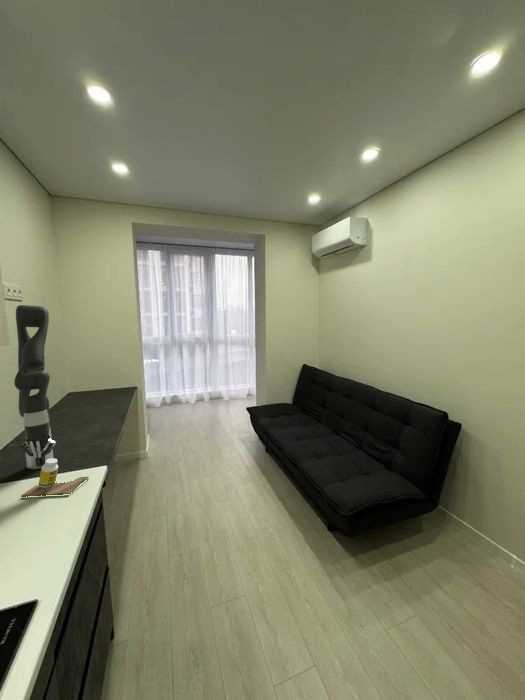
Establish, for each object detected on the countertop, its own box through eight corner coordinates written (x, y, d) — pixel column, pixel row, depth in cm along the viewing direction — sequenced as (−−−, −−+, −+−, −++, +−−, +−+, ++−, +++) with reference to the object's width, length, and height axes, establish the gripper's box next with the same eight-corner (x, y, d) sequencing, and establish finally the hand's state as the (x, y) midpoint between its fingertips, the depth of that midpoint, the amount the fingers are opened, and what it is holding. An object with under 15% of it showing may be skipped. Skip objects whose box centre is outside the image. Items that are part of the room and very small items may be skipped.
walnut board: (21, 498, 108) (21, 495, 108) (45, 481, 120) (44, 479, 120) (69, 495, 108) (69, 492, 108) (88, 479, 120) (88, 476, 120)
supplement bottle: (47, 489, 111) (52, 465, 110) (34, 486, 111) (39, 461, 111) (58, 482, 116) (63, 459, 116) (45, 479, 117) (50, 456, 116)
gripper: (60, 418, 116) (64, 460, 117) (27, 420, 116) (31, 462, 117) (46, 424, 108) (50, 469, 109) (11, 426, 108) (15, 471, 109)
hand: (40, 465), depth 113 cm, fingers closed
